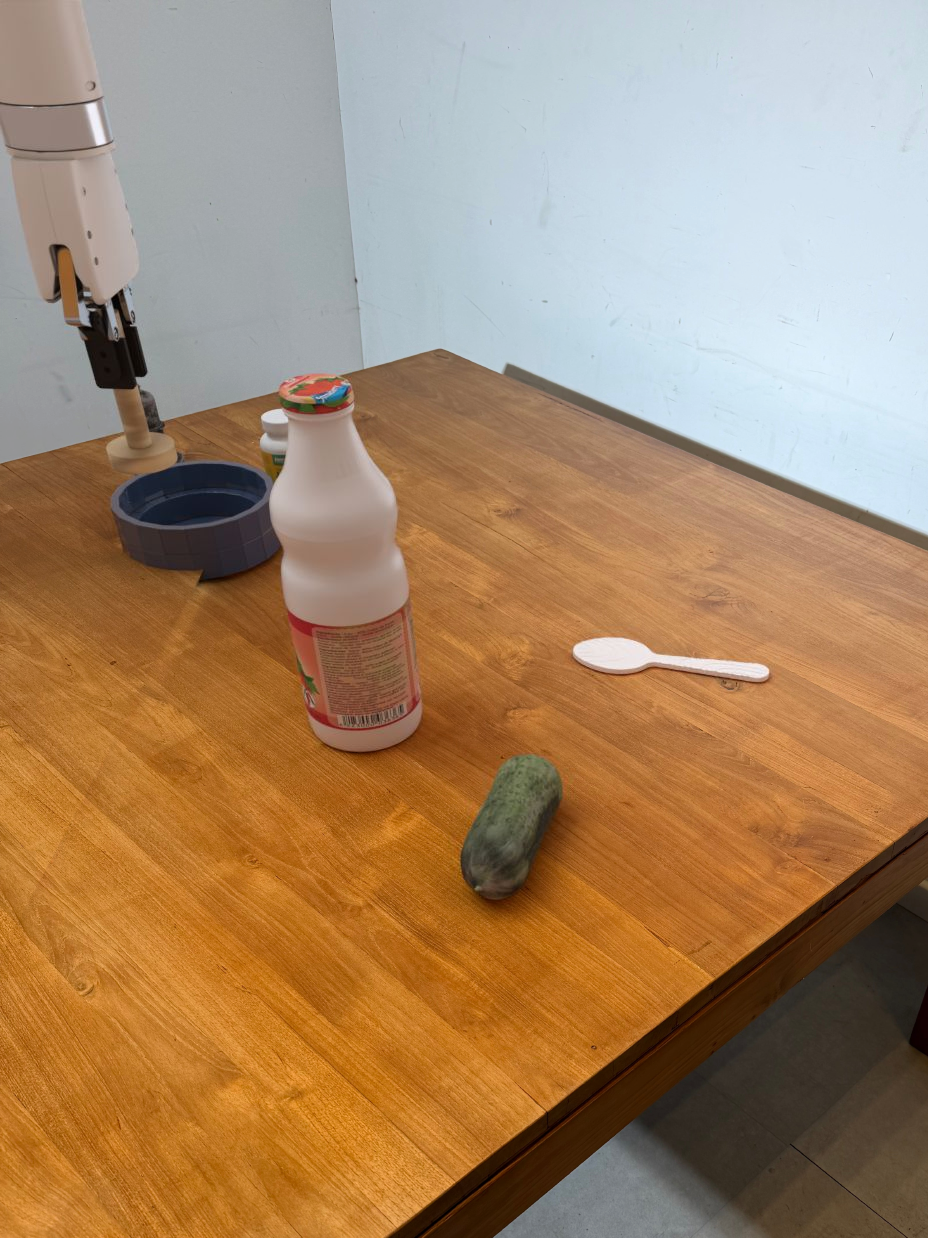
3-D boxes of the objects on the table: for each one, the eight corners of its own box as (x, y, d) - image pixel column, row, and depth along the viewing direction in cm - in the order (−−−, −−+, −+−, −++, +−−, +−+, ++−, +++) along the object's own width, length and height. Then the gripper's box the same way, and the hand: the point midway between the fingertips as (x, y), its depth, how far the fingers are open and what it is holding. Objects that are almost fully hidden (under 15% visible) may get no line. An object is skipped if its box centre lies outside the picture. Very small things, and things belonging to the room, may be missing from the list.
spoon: (766, 692, 99) (766, 687, 99) (566, 667, 101) (566, 662, 101) (771, 660, 103) (772, 655, 103) (579, 636, 105) (579, 631, 105)
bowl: (106, 584, 110) (88, 527, 106) (152, 512, 122) (138, 458, 118) (266, 586, 111) (254, 530, 107) (297, 514, 122) (288, 461, 118)
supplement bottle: (314, 487, 127) (300, 402, 121) (326, 507, 124) (312, 420, 117) (266, 495, 126) (249, 410, 119) (277, 515, 122) (260, 428, 116)
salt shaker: (126, 499, 124) (94, 389, 116) (154, 477, 128) (126, 369, 120) (174, 505, 123) (145, 395, 115) (201, 483, 127) (176, 376, 119)
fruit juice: (384, 767, 90) (332, 422, 71) (286, 736, 93) (212, 396, 74) (444, 706, 97) (412, 374, 78) (352, 678, 99) (299, 352, 81)
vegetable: (506, 787, 89) (503, 736, 85) (569, 797, 88) (569, 746, 85) (446, 909, 78) (440, 857, 75) (517, 922, 78) (515, 870, 74)
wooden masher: (101, 473, 97) (57, 321, 89) (123, 447, 101) (82, 299, 93) (166, 475, 97) (128, 324, 89) (185, 449, 101) (151, 302, 93)
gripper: (46, 105, 88) (110, 347, 100) (-45, 148, 76) (41, 417, 88) (142, 108, 88) (195, 350, 100) (67, 152, 76) (137, 420, 89)
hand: (122, 380), depth 94 cm, fingers closed on wooden masher
